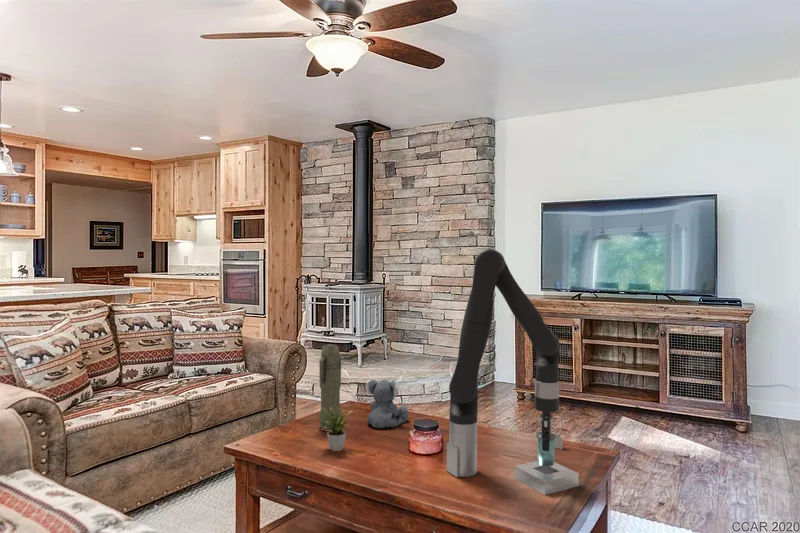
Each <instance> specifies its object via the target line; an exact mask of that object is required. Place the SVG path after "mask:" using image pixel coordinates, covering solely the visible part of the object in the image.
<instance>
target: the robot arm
mask: <svg viewBox="0 0 800 533" xmlns="http://www.w3.org/2000/svg"><path fill="white" fill-rule="evenodd" d="M473 265H474V266H473V275H472V277H473V278H472V284H471V290H470V294H469V296H468V297H469V298H468V300H467V304H466V308H465V311H464V316H463V320H462V325H461V329H460V331H461V332H460V336H459V344H458V345H459V346H458V354H457V355H458V356H457V360H456V365H455V369H454V371H453V375H452V378H451V379H450V382H449V386H448V390H449V394H450V395H449V398H450V400H449V403H450V405H449V427H448V428H449V432H448V433H449V436H448V438H449V439H448V440H449V442H447V443H446V472H448V473H450V474H451V475H453V476H454V477H455V478H459V477H460V478H461V477H462V478H469V477H474V476H475V475H477V473H478V410H479V408H478V407H479V405H478V402H479V401H478V400H479V399H478V397H479V396H478V395H479V394H478V393H479V391H478V390H479V387H478V386H479V385H478V378H479V371H480V366H481V365H480V364H481V361H482V359H483V355H484V353H485V349H486V347H487V343H488V339H489V338H490V337H489V336H490V332H491V327H492V323H493V316H494V315H493V314H494V313H493V312H494V295H495V294H494V292H495V289H496V288H497V289H498V291H499V292H500V294H501V295H502V297H503V299H504V300H505V302H506V304H507V305H508V308H509V310H510V311H511V313H512V315H513V316H514V317H515V318H516V320H517V322H518V323H519V325H520V326H521V327H522V328H523V330H524V331H525V333H526V334H527V337H528V338H529V340H530V342H531V345H533V347H534V349H535V350H536V352H537V363H536V366H535V382H534V383H535V384H534V410H536V411H538V412H541V413H540V414H539V415H540V416H539V422H540V426H539V427H540V428H539V429H540V432H542V436H541V438H542V450H543V451H549V441H550V432H551V433H552V431H553V429H552V428H553V423H554V421H553V420H554V415H553V414H552V413H556V412H558V411H559V409H560V385H559V376H560V375H559V372H560V371H559V359H560V358H559V357H560V346H561V345H560V339H559V337H558V335H557V334H556V333H554V332H553V331H551V330H550V329H549V327H547V325H546V323H545V322H544V318H543V317H542V315H541V314H540V312H539V310H538V309H537V307H536V306H535V305H534V304H533V302H532V301H531V300H530V298H529V297H528V296H527V295H526V293H525V292H524V291H523V289H522V288H521V287H520V285H519V283H518V282H517V281H516V279H515V278H514V276H513V274H512V273H511V270H510V269H509V267H508V264H507V262H506V260H505V258H504V255H503V254H502V252H500V251H498V250H495V249H490V248H488V249H487V248H485V249H483V250H482V251H480V252H479V253H478V254H477V256H476V257H475V259H474V264H473ZM544 432H548V435H544Z"/></svg>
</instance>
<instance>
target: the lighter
mask: <svg viewBox="0 0 800 533" xmlns="http://www.w3.org/2000/svg"><path fill="white" fill-rule="evenodd" d="M550 433H552V431H551V432H550ZM553 434H555V435H556V439H555V440H554V449H556V448H557V449H556V450H563V448H562V447H563V446H564V445H563V443H564V440H563V438H564V437H563V436H561V434H560V433H555V432H554V433H553ZM558 448H560V449H558Z"/></svg>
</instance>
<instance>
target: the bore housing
mask: <svg viewBox="0 0 800 533" xmlns="http://www.w3.org/2000/svg"><path fill="white" fill-rule="evenodd" d="M579 476H580V475H579V472H577V471H574V470H572V469H570V468H568V467H565V466H564V465H562V464H559V463H558V462H555V461H554V465H552V466H543V465H540V464H538V463H537V460H534V461H531V462H527V463H521V464H517V465H514V479H515V480H517V481H519V482H521V483H522V484H524V485H527V487H530V488H532V489H534V490H535V491H537V492H538V493H541V494H542V495H544V496H546V495H550V494H551V495H552V494H555V493H558V492H561V491H565V490H570V489H573V488H576V487H579V483H580V481H579Z"/></svg>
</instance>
